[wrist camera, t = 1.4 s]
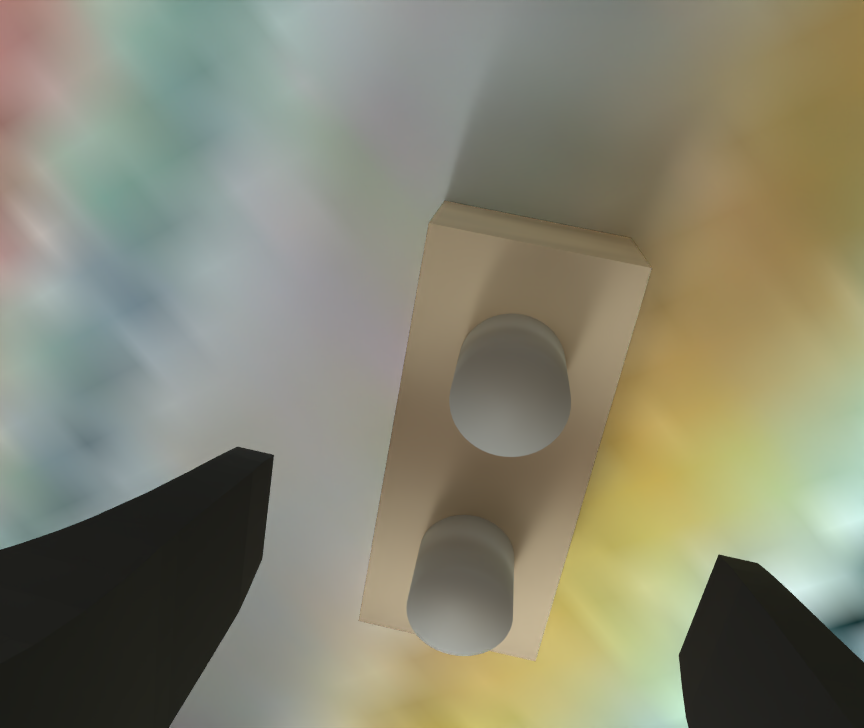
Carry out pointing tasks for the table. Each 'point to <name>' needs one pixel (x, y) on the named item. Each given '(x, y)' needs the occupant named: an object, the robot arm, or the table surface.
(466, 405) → the beige toy brick
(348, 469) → the table surface
